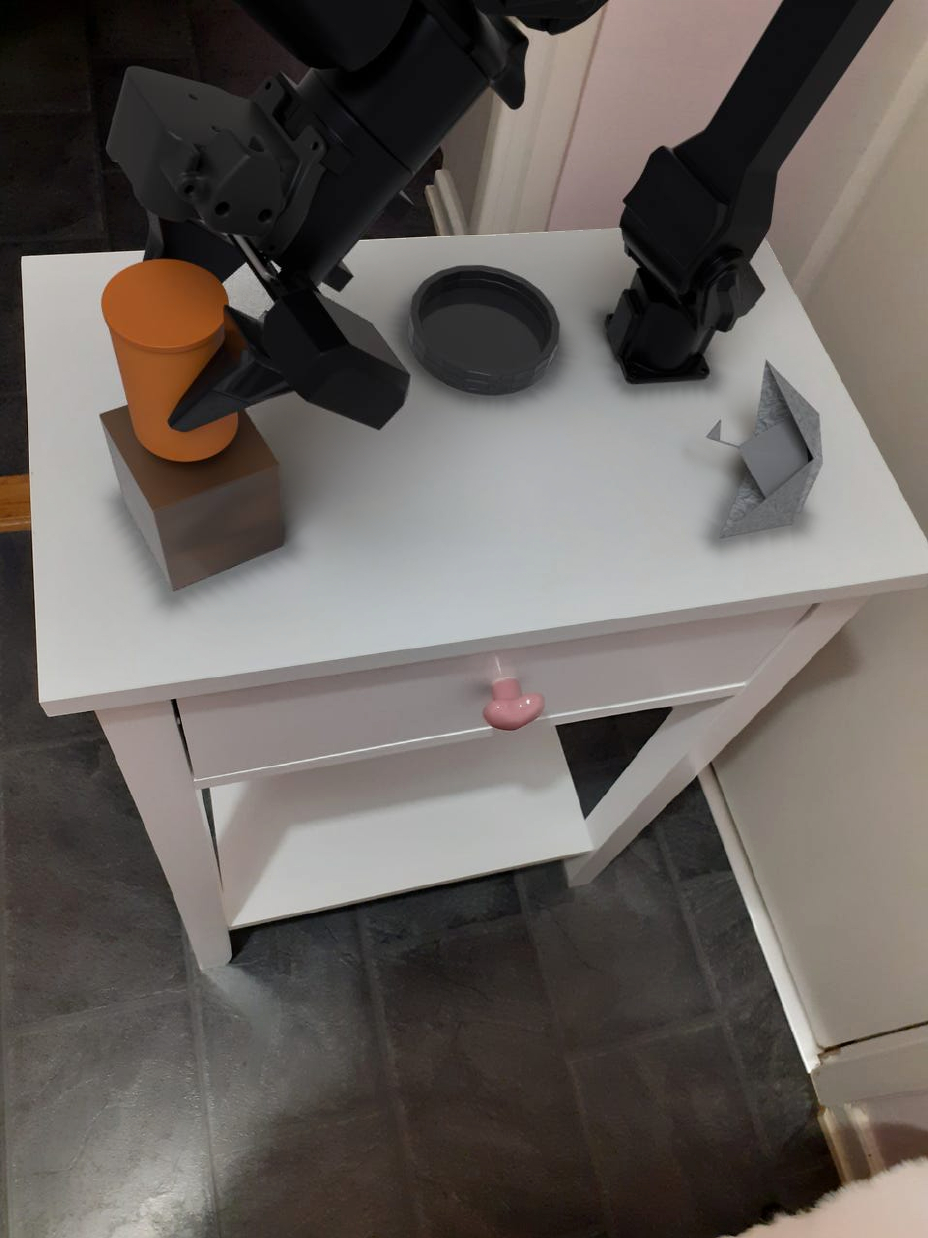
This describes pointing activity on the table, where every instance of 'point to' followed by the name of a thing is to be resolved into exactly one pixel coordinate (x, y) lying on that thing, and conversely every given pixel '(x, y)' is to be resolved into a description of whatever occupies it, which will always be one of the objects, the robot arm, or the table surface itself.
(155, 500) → the block
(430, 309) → the pan
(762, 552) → the table surface
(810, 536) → the table surface
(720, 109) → the robot arm
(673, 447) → the table surface
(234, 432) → the orange tin can
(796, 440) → the paper boat
